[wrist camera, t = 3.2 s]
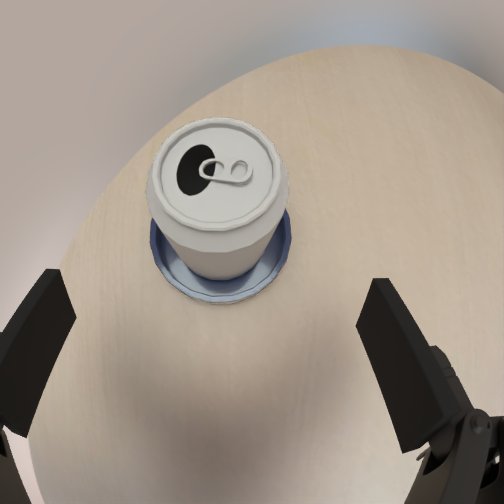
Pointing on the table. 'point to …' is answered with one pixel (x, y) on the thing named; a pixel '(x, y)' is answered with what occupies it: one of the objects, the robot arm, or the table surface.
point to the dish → (222, 289)
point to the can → (218, 195)
